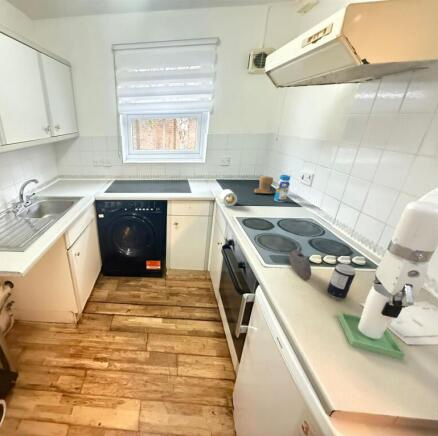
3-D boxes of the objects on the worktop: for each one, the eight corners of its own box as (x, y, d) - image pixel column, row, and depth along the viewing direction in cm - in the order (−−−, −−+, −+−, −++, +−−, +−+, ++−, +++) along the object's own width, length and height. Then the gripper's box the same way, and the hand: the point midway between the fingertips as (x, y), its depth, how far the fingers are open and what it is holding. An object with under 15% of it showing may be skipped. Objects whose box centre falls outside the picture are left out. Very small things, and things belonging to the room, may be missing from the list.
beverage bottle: (276, 198, 192) (281, 174, 185) (287, 200, 187) (293, 175, 179) (272, 200, 187) (277, 175, 179) (283, 203, 181) (289, 177, 174)
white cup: (389, 345, 66) (412, 303, 60) (360, 338, 68) (379, 297, 62) (376, 326, 72) (396, 286, 66) (350, 321, 74) (367, 281, 68)
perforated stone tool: (313, 284, 92) (318, 269, 90) (298, 282, 93) (303, 267, 91) (299, 263, 106) (303, 249, 103) (286, 261, 107) (289, 248, 104)
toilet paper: (219, 201, 185) (220, 189, 181) (232, 201, 185) (234, 189, 181) (222, 205, 176) (224, 193, 172) (236, 206, 176) (238, 193, 172)
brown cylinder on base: (269, 191, 211) (272, 174, 205) (273, 195, 200) (277, 177, 194) (251, 190, 213) (254, 174, 207) (254, 194, 202) (257, 177, 196)
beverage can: (348, 301, 83) (359, 273, 79) (329, 298, 85) (339, 270, 81) (342, 291, 88) (352, 264, 84) (324, 288, 90) (333, 261, 86)
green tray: (381, 326, 74) (383, 322, 73) (402, 359, 63) (405, 354, 63) (337, 316, 77) (339, 311, 77) (351, 346, 67) (353, 341, 67)
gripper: (455, 273, 50) (418, 334, 57) (408, 238, 65) (383, 290, 72) (409, 266, 53) (379, 325, 60) (374, 233, 68) (353, 284, 75)
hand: (382, 305), depth 66 cm, fingers closed on white cup, 6 cm apart
